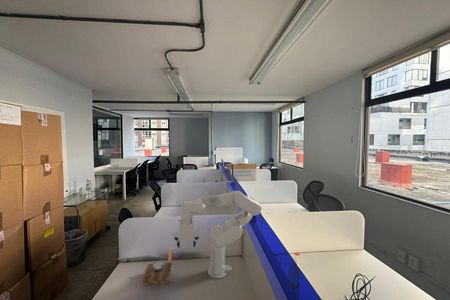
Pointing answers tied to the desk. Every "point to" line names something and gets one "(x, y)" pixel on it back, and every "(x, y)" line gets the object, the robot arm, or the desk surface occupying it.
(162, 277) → the hitch block
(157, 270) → the silver rounded cylinder
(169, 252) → the bar
